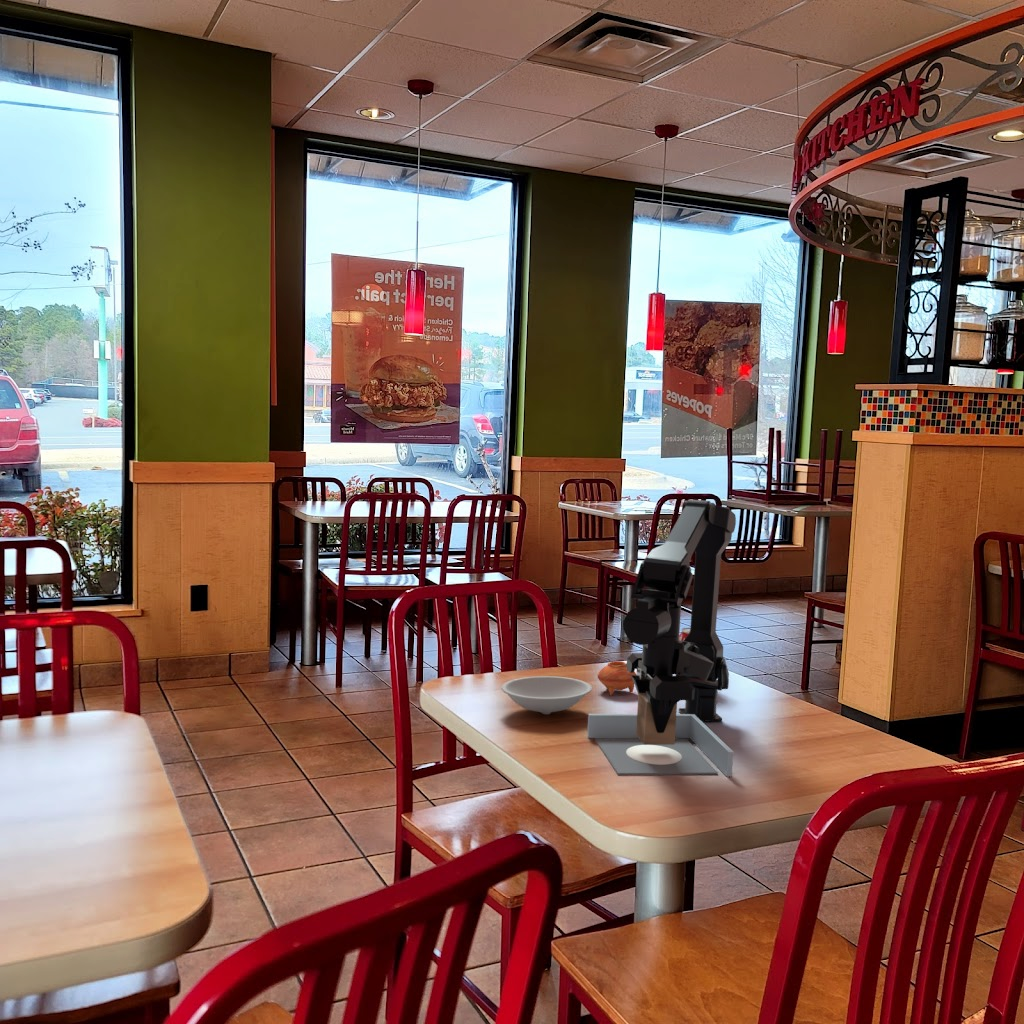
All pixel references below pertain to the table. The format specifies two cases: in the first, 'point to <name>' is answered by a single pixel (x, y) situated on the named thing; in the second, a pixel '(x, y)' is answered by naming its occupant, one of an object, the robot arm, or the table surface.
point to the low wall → (684, 728)
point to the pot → (616, 677)
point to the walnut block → (653, 725)
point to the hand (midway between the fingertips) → (655, 727)
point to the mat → (654, 757)
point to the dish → (546, 692)
